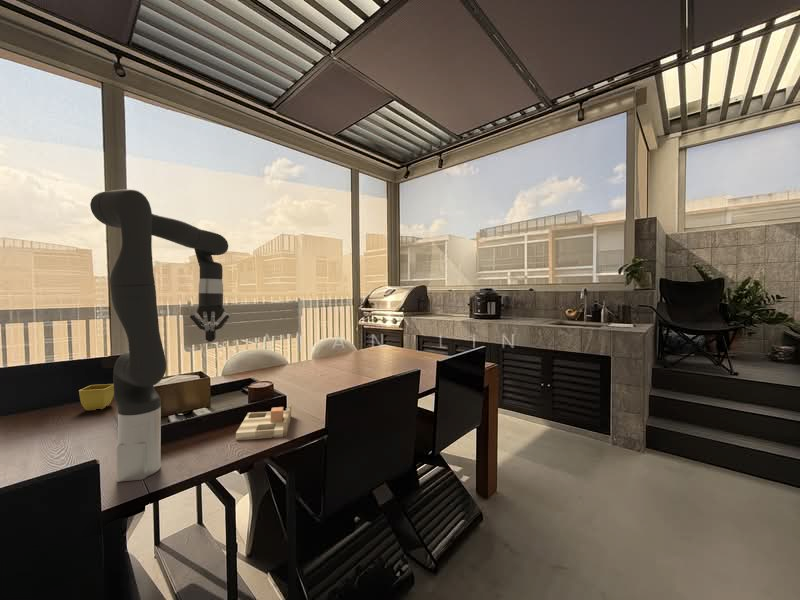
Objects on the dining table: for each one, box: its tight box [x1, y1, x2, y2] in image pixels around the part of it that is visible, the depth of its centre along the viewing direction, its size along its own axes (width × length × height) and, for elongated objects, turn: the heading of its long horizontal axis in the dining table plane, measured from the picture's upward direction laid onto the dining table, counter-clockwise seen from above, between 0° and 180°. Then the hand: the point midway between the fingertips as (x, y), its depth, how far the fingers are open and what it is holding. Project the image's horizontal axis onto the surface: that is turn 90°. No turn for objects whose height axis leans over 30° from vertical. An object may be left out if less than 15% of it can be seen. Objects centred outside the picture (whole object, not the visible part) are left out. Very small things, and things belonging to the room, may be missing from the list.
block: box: [270, 406, 284, 422], centre depth 123 cm, size 4×4×4 cm
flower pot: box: [78, 383, 114, 411], centre depth 138 cm, size 9×9×9 cm
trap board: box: [235, 403, 292, 441], centre depth 123 cm, size 19×16×5 cm
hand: (210, 341), depth 117 cm, fingers closed
